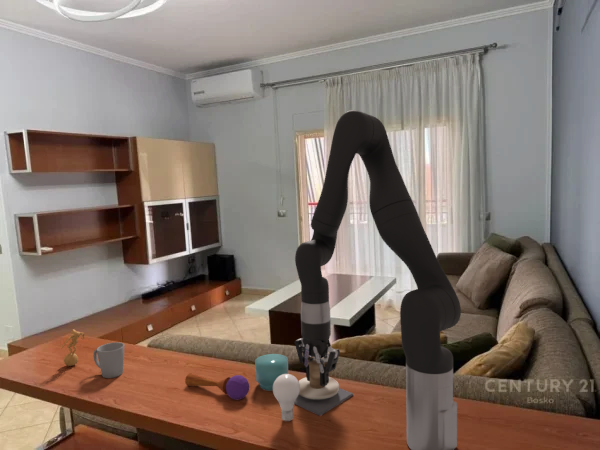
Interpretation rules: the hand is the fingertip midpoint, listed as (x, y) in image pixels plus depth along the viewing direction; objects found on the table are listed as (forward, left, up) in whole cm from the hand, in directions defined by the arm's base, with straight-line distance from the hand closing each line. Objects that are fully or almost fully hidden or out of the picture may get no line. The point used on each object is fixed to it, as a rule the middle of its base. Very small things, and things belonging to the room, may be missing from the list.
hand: (317, 382), depth 109 cm
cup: (+57, +30, -4) cm, 65 cm away
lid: (0, 0, -2) cm, 2 cm away
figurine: (+72, +35, -4) cm, 80 cm away
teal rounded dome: (+14, +3, -4) cm, 15 cm away
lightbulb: (-2, +13, -4) cm, 14 cm away
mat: (0, 0, -4) cm, 4 cm away
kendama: (+22, +16, -4) cm, 28 cm away
